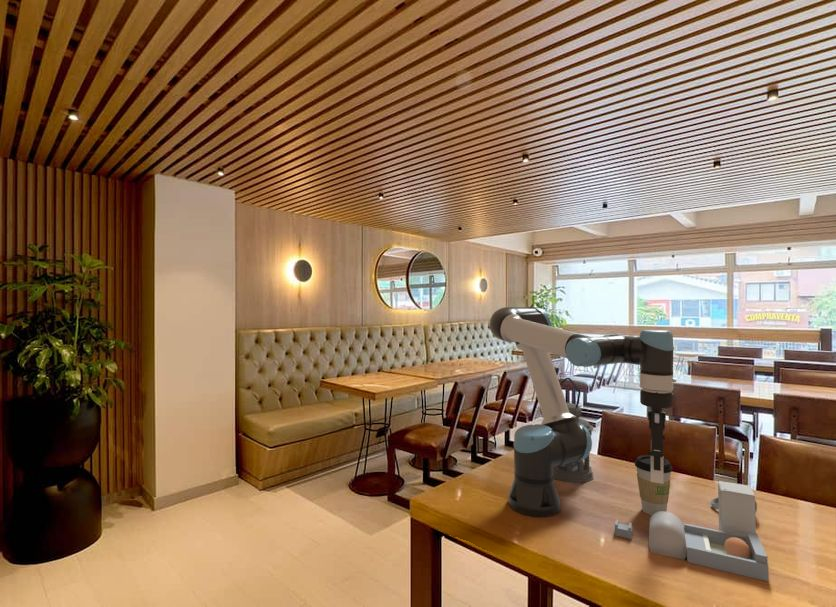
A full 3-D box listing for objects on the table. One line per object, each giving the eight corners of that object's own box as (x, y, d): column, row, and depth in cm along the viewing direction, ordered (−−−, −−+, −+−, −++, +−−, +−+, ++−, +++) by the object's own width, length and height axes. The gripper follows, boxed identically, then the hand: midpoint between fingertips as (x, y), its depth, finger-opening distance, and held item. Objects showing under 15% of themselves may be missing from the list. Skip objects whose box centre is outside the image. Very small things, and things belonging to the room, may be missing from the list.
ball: (734, 568, 98) (721, 547, 99) (730, 556, 102) (718, 536, 103) (757, 563, 96) (744, 541, 97) (753, 551, 100) (740, 530, 101)
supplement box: (756, 546, 105) (755, 495, 106) (720, 538, 109) (719, 489, 110) (752, 533, 112) (751, 485, 112) (718, 525, 116) (717, 479, 116)
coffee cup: (679, 520, 118) (678, 467, 119) (641, 517, 120) (640, 465, 121) (666, 505, 128) (665, 455, 128) (631, 502, 130) (630, 453, 130)
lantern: (536, 473, 154) (535, 377, 154) (559, 462, 165) (558, 372, 166) (581, 487, 141) (579, 383, 142) (602, 473, 153) (600, 377, 153)
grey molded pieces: (613, 551, 107) (612, 520, 107) (617, 529, 118) (616, 500, 118) (768, 591, 92) (768, 554, 92) (757, 560, 103) (756, 527, 103)
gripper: (675, 401, 95) (676, 494, 95) (671, 383, 117) (672, 459, 117) (638, 398, 99) (638, 487, 99) (641, 381, 121) (641, 454, 121)
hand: (656, 472), depth 108 cm, fingers open, 13 cm apart
